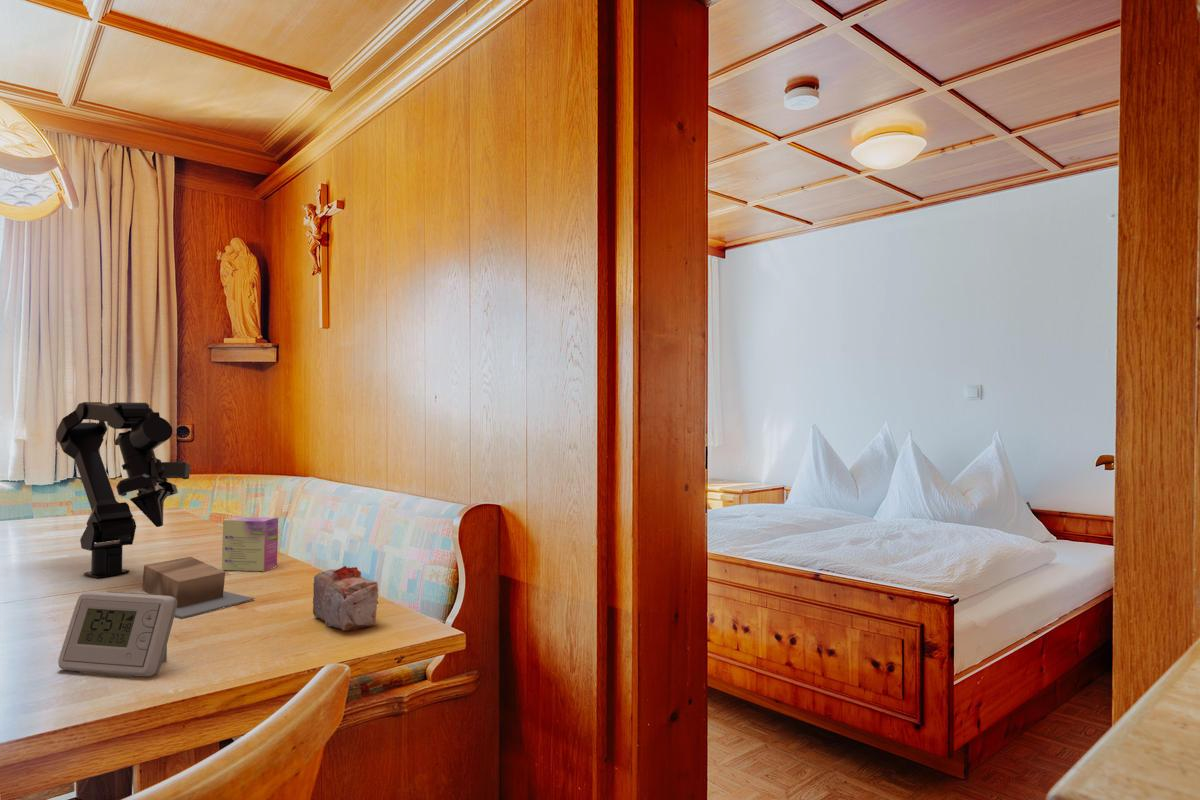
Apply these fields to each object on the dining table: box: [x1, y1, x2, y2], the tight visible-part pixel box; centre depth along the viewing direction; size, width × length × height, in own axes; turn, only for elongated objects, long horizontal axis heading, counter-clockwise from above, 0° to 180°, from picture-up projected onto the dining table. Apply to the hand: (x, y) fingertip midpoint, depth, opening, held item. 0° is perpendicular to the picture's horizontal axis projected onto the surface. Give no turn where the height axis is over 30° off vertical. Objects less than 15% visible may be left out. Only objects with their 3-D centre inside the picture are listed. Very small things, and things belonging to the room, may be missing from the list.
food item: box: [312, 565, 379, 632], centre depth 123 cm, size 14×8×10 cm, turn 47°
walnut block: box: [141, 556, 226, 608], centre depth 137 cm, size 5×9×12 cm
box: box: [221, 515, 279, 573], centre depth 163 cm, size 10×6×12 cm, turn 84°
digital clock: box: [57, 590, 177, 678], centre depth 101 cm, size 16×9×11 cm, turn 69°
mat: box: [174, 590, 256, 620], centre depth 134 cm, size 15×14×2 cm
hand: (159, 526), depth 148 cm, fingers closed
